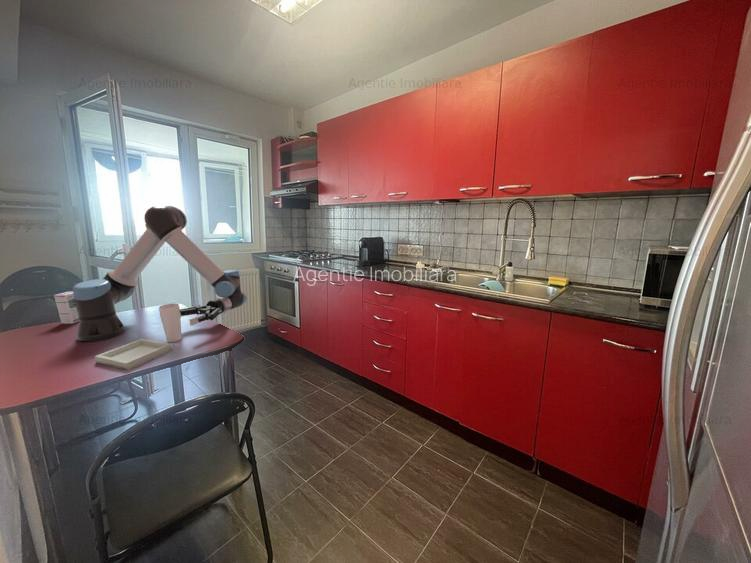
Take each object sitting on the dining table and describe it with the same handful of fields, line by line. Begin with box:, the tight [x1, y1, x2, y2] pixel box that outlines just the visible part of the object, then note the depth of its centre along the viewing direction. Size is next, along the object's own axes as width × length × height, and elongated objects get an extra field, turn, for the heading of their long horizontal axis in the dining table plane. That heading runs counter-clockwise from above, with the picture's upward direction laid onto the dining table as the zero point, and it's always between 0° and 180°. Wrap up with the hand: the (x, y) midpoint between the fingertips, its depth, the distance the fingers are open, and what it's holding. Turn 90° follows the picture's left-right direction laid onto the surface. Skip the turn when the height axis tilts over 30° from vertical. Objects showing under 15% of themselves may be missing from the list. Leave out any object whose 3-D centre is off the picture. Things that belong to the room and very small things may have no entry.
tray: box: [94, 338, 173, 371], centre depth 109 cm, size 16×16×2 cm
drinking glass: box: [158, 302, 183, 343], centre depth 122 cm, size 7×7×15 cm
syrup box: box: [54, 291, 80, 325], centre depth 142 cm, size 6×6×14 cm
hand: (177, 320), depth 123 cm, fingers open, 13 cm apart
